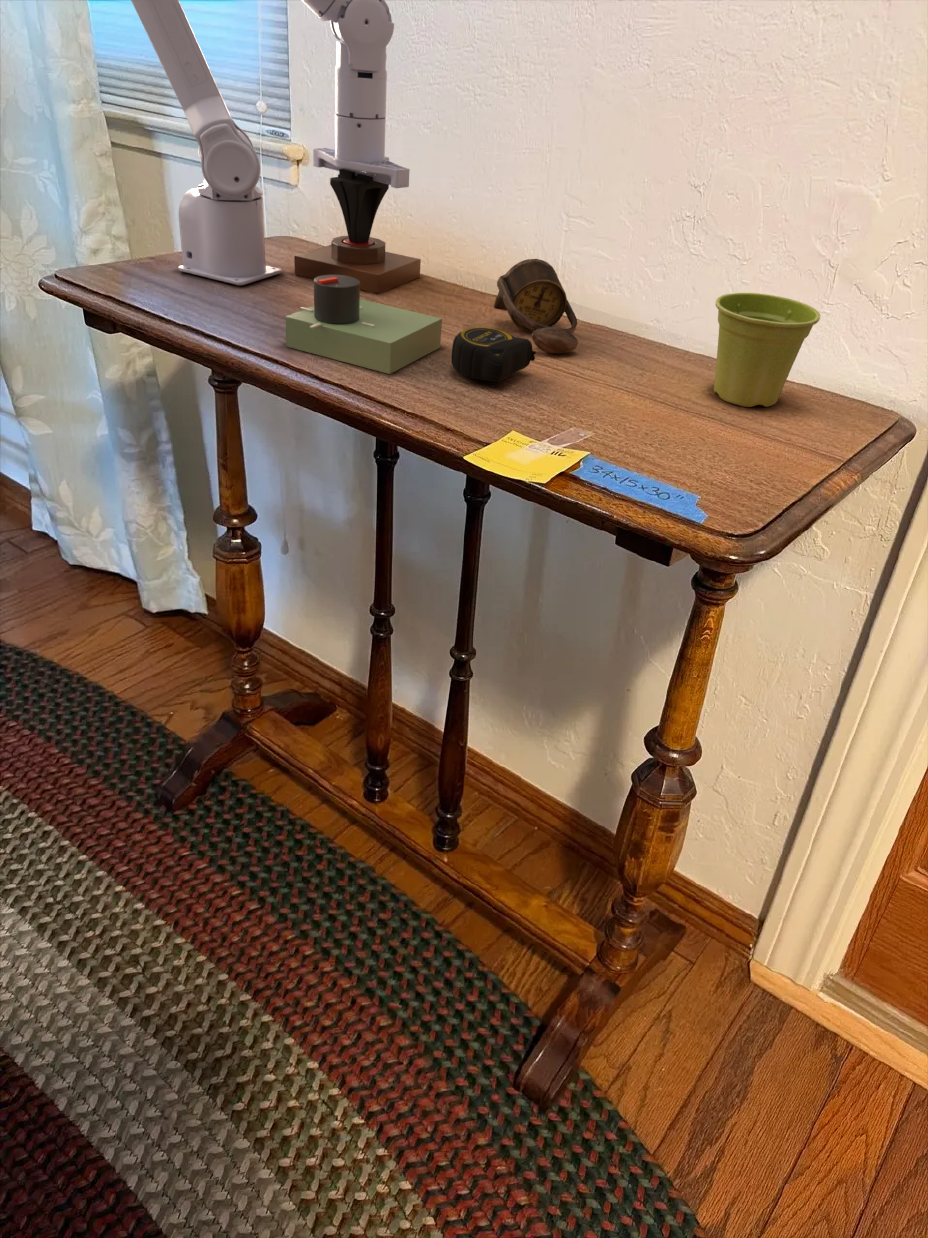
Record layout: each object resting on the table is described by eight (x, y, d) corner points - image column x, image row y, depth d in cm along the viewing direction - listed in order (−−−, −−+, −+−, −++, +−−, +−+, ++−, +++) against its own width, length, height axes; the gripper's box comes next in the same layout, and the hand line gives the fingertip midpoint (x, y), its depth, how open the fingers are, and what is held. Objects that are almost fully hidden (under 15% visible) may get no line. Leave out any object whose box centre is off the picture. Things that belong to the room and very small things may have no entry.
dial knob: (339, 307, 93) (339, 268, 91) (368, 319, 91) (369, 279, 89) (304, 314, 91) (304, 274, 88) (334, 326, 88) (334, 286, 86)
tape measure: (497, 394, 86) (501, 354, 83) (436, 375, 88) (438, 336, 86) (533, 375, 90) (538, 337, 88) (474, 357, 93) (477, 320, 91)
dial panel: (275, 349, 91) (274, 316, 89) (340, 322, 99) (340, 292, 97) (382, 378, 87) (383, 344, 85) (440, 347, 95) (442, 316, 93)
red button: (337, 256, 113) (338, 241, 112) (354, 250, 116) (354, 236, 115) (362, 261, 112) (363, 246, 111) (378, 256, 114) (379, 241, 113)
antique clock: (594, 274, 103) (509, 244, 102) (598, 294, 92) (503, 260, 91) (570, 337, 106) (488, 308, 106) (572, 364, 95) (480, 331, 94)
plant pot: (778, 424, 85) (805, 329, 80) (681, 397, 89) (702, 305, 84) (805, 396, 92) (831, 307, 87) (714, 372, 95) (734, 286, 90)
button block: (294, 274, 113) (293, 239, 111) (340, 259, 121) (340, 226, 118) (378, 293, 109) (378, 258, 107) (420, 277, 117) (421, 243, 114)
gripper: (430, 123, 104) (424, 250, 111) (344, 105, 111) (344, 225, 119) (384, 126, 99) (381, 258, 107) (298, 107, 107) (300, 231, 114)
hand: (358, 241), depth 113 cm, fingers closed, pressing on red button
